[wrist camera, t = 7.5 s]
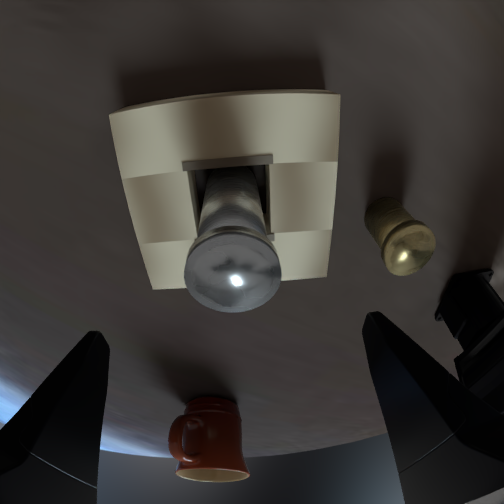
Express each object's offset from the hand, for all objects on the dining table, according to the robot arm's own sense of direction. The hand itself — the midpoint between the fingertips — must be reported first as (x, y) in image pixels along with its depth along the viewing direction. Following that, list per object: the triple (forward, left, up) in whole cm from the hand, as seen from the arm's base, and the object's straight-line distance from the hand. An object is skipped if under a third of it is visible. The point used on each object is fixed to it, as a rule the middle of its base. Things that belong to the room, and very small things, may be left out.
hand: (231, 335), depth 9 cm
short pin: (-11, +3, -12) cm, 16 cm away
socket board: (0, 0, -12) cm, 12 cm away
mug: (+6, +28, -12) cm, 31 cm away
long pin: (0, 0, -12) cm, 12 cm away
